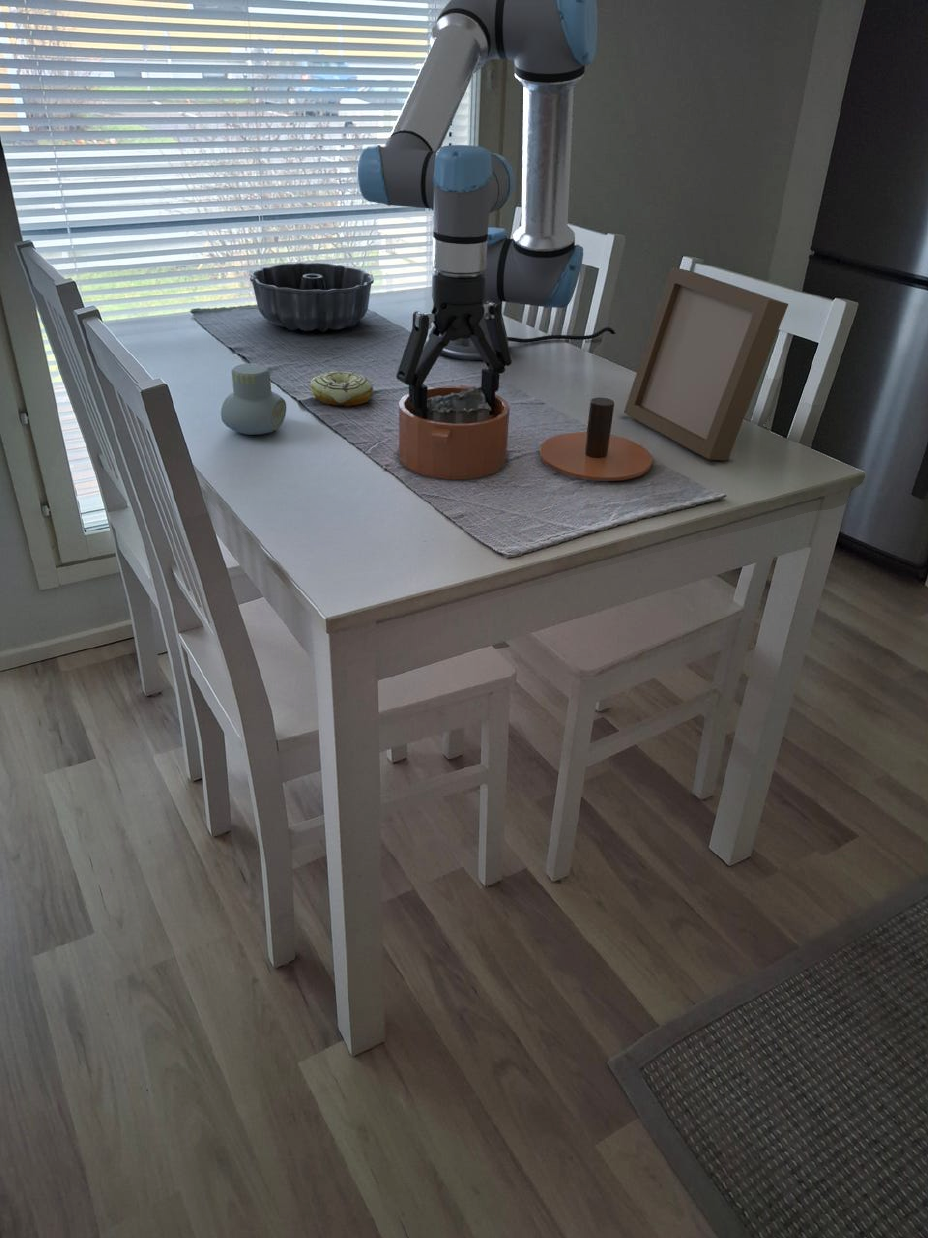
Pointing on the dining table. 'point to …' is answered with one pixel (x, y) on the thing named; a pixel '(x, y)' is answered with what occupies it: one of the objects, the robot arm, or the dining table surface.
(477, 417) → the egg carton
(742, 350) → the photo frame
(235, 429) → the air freshener
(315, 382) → the decorated donut
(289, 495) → the dining table surface
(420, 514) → the dining table surface
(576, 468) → the lid
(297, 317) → the bundt pan
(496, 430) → the pot
